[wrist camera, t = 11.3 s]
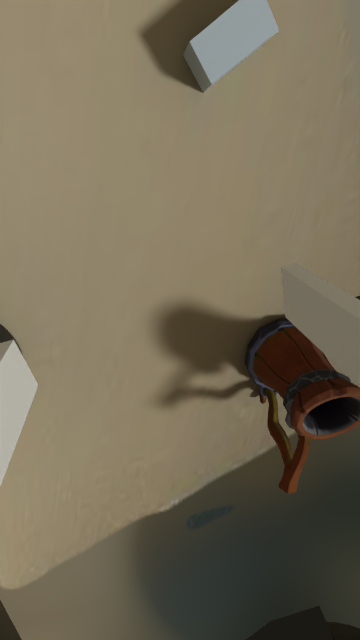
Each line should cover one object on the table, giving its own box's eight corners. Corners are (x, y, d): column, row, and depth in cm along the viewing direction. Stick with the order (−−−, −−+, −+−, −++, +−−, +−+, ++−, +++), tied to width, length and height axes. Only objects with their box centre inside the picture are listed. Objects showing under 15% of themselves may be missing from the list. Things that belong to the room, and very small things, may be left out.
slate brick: (202, 93, 33) (211, 84, 29) (182, 55, 32) (189, 41, 28) (261, 45, 32) (278, 30, 28) (244, 4, 30) (259, -18, 27)
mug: (282, 419, 54) (331, 503, 41) (217, 409, 52) (248, 497, 38) (331, 324, 47) (410, 388, 34) (260, 307, 45) (315, 370, 31)
